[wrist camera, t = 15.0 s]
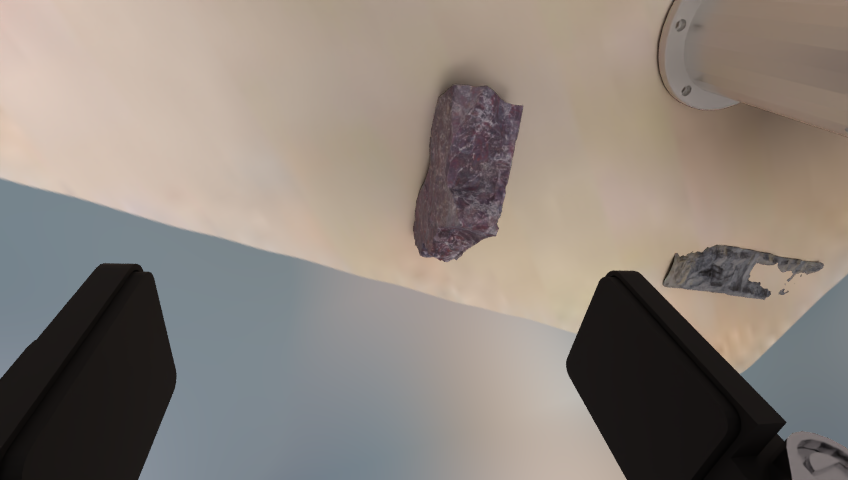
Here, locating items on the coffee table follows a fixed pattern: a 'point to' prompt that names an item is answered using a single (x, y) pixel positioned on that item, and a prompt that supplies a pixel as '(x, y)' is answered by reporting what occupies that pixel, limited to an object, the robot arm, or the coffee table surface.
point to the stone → (465, 171)
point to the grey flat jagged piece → (730, 271)
